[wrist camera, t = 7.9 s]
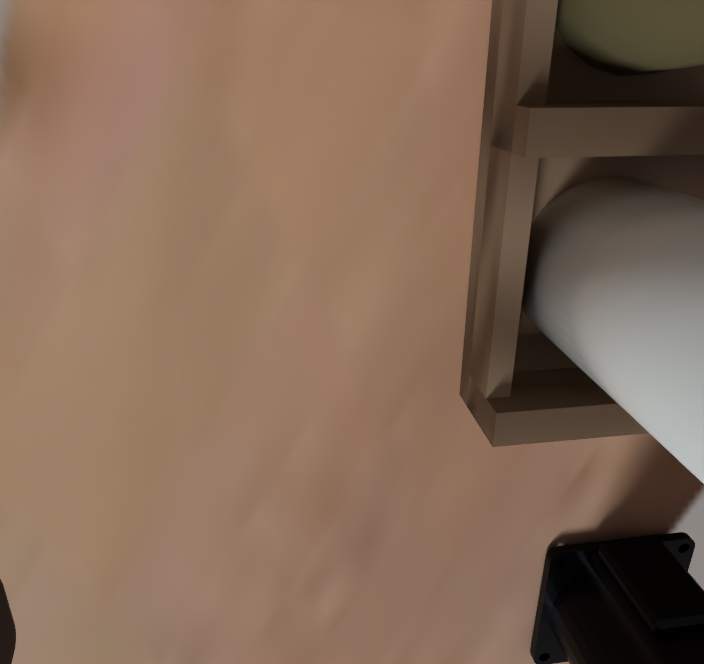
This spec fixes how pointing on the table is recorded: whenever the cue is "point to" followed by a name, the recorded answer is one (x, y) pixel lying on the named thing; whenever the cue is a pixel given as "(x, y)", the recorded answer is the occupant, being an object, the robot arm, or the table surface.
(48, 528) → the table surface
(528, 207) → the walnut slot rack
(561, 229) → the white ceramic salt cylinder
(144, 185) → the table surface
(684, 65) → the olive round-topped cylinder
